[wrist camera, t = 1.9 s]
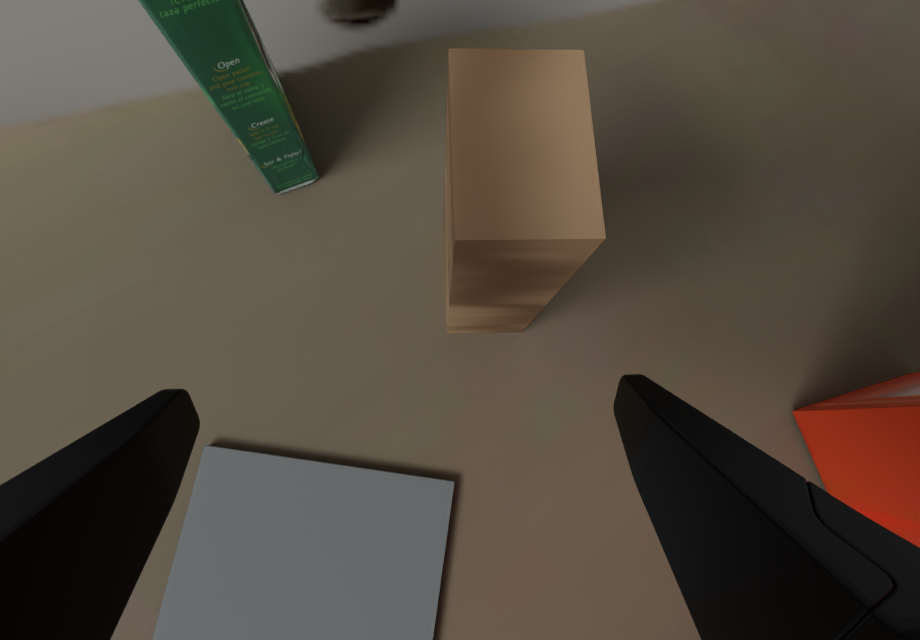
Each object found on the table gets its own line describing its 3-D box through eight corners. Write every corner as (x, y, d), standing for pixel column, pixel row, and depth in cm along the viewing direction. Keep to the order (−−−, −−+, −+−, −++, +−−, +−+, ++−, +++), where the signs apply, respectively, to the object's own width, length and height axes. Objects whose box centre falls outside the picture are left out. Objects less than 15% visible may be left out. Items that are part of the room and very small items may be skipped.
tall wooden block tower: (515, 227, 25) (583, 49, 13) (521, 331, 23) (605, 238, 12) (444, 228, 24) (448, 48, 13) (446, 333, 23) (454, 240, 11)
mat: (454, 480, 21) (454, 481, 21) (424, 695, 19) (424, 701, 19) (208, 445, 21) (204, 445, 21) (151, 658, 19) (145, 662, 19)
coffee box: (229, 84, 26) (25, -247, 13) (276, 68, 26) (123, -266, 14) (273, 198, 24) (90, -51, 12) (323, 180, 25) (199, -79, 12)
